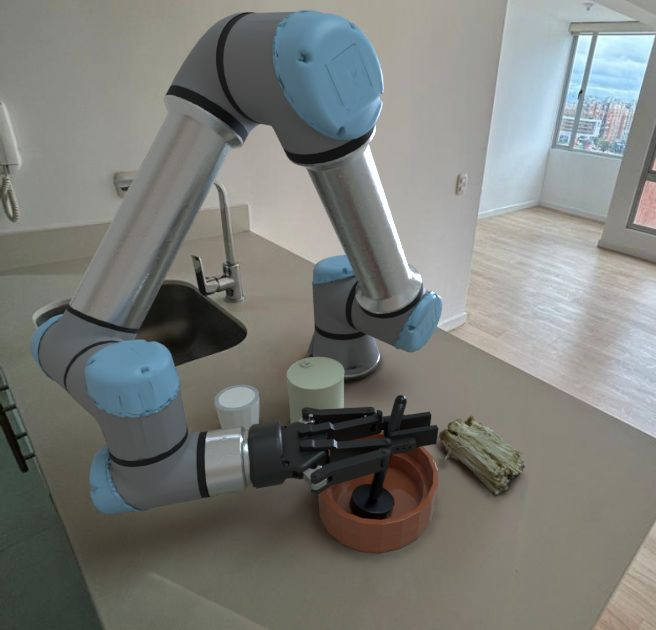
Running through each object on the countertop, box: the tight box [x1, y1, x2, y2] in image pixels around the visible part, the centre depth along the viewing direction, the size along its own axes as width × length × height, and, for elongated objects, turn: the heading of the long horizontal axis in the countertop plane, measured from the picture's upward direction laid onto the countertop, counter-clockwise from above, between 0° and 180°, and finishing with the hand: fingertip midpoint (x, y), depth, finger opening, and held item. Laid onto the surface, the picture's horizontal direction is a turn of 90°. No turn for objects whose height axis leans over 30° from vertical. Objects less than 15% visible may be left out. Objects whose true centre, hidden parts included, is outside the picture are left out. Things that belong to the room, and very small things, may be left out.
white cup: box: [213, 384, 260, 430], centre depth 73 cm, size 7×7×7 cm
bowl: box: [317, 431, 439, 554], centre depth 63 cm, size 16×16×6 cm
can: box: [286, 357, 345, 424], centre depth 74 cm, size 9×9×12 cm
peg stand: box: [349, 394, 408, 520], centre depth 60 cm, size 6×6×17 cm
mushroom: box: [438, 415, 527, 496], centre depth 71 cm, size 14×10×5 cm, turn 42°
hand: (432, 427), depth 61 cm, fingers closed on peg stand, 2 cm apart
